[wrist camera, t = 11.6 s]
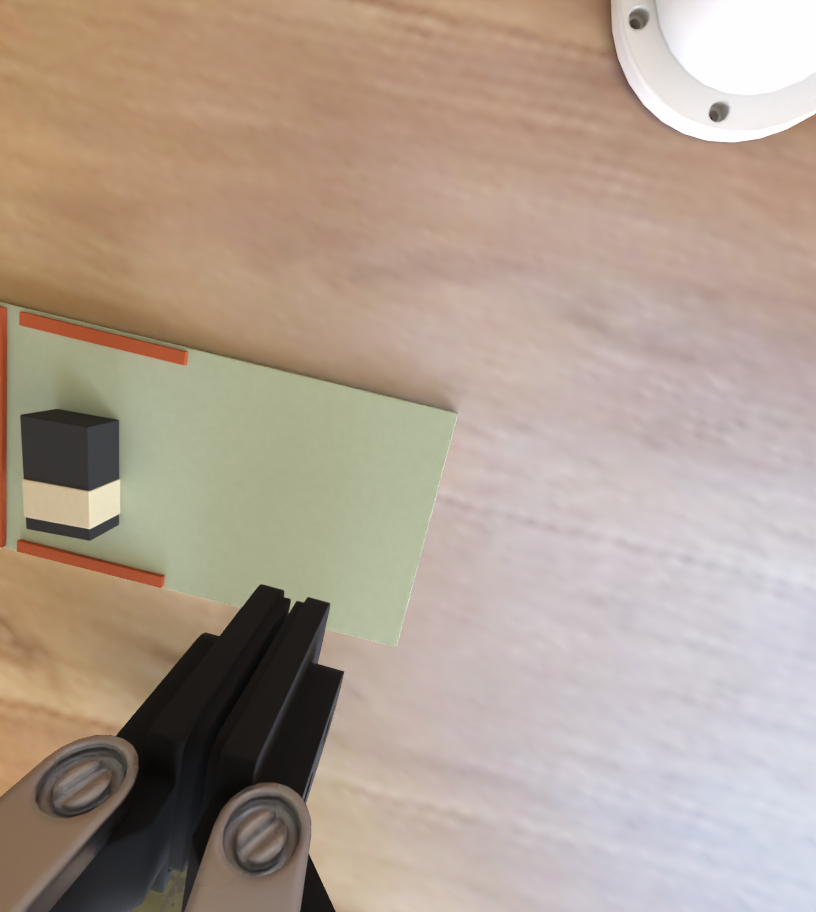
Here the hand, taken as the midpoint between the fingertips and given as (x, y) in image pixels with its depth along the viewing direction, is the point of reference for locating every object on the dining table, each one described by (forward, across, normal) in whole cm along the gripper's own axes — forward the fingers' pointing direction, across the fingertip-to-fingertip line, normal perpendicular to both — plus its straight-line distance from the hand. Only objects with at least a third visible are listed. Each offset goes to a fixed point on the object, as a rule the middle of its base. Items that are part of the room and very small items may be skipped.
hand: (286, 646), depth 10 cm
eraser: (+16, +18, +6) cm, 25 cm away
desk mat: (+17, +11, +5) cm, 21 cm away
